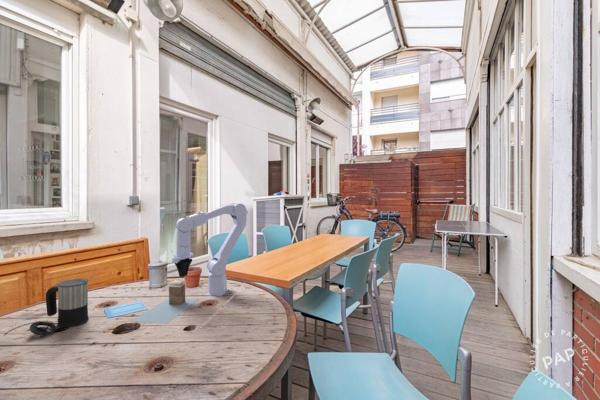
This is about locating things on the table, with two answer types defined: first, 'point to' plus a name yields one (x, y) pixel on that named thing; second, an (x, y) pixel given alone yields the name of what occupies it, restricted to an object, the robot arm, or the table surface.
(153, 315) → the light blue mat
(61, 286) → the milk frother
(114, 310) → the blue streaked flat panel
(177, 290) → the walnut block
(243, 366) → the table surface
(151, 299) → the table surface
